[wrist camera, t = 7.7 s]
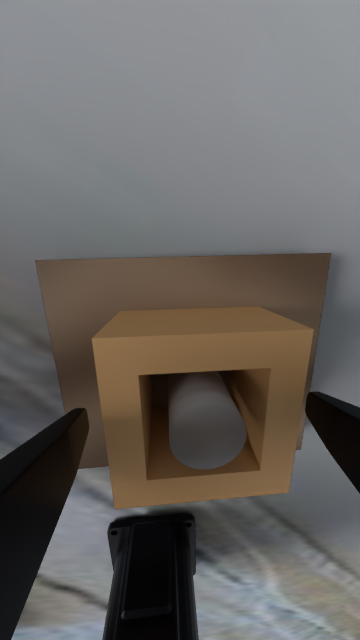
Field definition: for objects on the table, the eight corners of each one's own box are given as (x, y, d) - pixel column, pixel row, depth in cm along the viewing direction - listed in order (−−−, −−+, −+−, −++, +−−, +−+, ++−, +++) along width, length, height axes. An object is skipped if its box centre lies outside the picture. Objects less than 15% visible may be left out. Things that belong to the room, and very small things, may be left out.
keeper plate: (287, 431, 14) (368, 540, 9) (85, 447, 14) (26, 581, 8) (309, 254, 11) (458, 241, 6) (52, 261, 11) (-84, 253, 5)
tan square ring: (249, 421, 12) (288, 492, 8) (131, 429, 12) (114, 509, 8) (258, 306, 10) (313, 329, 7) (120, 311, 10) (91, 338, 6)
